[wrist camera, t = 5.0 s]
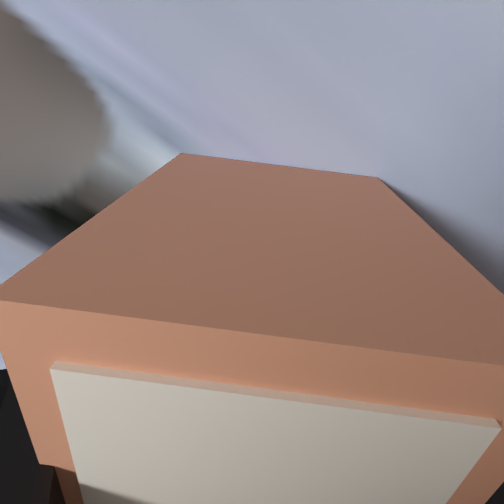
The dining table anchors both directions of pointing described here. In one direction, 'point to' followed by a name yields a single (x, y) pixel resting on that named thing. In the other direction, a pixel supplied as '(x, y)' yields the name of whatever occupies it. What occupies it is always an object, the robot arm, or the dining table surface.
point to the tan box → (258, 346)
